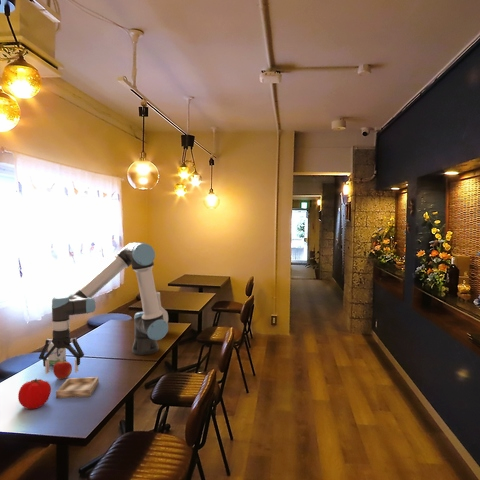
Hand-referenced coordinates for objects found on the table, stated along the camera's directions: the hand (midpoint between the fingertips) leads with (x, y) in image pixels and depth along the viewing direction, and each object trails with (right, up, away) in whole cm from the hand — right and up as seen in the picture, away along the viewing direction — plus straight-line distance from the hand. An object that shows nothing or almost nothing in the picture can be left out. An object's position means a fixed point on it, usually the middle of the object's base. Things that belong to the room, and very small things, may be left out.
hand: (62, 372), depth 184 cm
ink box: (-13, -3, +22) cm, 26 cm away
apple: (0, -3, 0) cm, 3 cm away
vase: (+29, 0, +73) cm, 79 cm away
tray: (+14, -3, -14) cm, 19 cm away
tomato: (+2, -4, -28) cm, 28 cm away
